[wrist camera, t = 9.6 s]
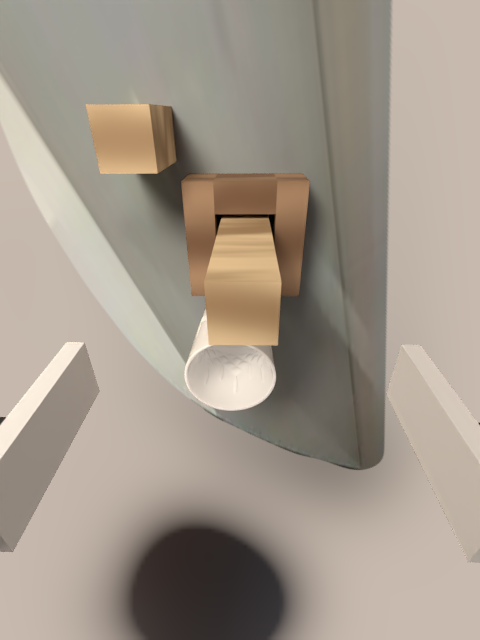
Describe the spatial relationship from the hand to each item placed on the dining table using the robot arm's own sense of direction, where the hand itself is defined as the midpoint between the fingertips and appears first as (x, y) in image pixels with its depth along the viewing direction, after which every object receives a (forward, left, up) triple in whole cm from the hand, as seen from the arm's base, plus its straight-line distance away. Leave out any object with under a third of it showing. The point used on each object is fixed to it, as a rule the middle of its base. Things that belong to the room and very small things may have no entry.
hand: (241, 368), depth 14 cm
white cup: (+10, -1, -21) cm, 23 cm away
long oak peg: (0, 0, -21) cm, 21 cm away
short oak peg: (-8, -8, -21) cm, 23 cm away
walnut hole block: (0, 0, -21) cm, 21 cm away
